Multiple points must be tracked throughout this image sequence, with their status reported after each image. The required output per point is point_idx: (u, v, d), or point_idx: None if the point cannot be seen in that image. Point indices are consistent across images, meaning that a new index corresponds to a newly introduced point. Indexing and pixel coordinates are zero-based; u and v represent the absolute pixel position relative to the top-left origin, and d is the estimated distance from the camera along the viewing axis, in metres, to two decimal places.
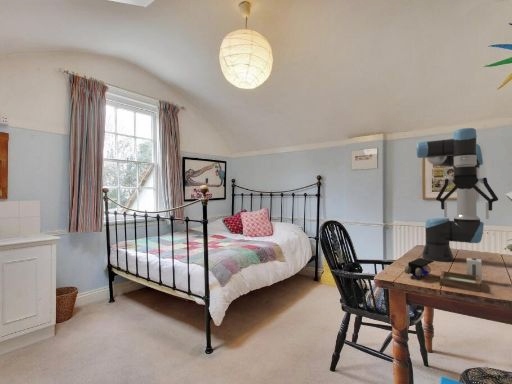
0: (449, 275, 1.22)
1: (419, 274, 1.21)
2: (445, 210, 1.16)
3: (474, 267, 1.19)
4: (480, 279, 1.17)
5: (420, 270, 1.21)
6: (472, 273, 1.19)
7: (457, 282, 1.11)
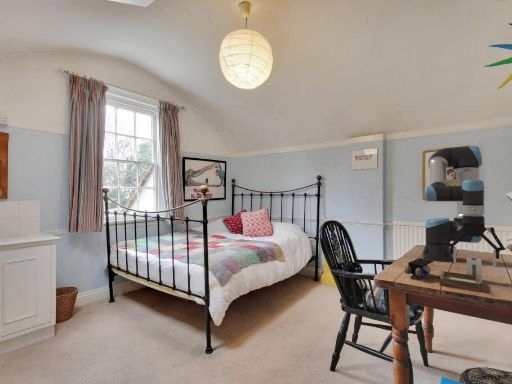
0: (449, 275, 1.22)
1: (419, 274, 1.21)
2: (454, 255, 1.23)
3: (474, 267, 1.19)
4: (480, 279, 1.17)
5: (420, 270, 1.21)
6: (472, 273, 1.19)
7: (457, 282, 1.11)
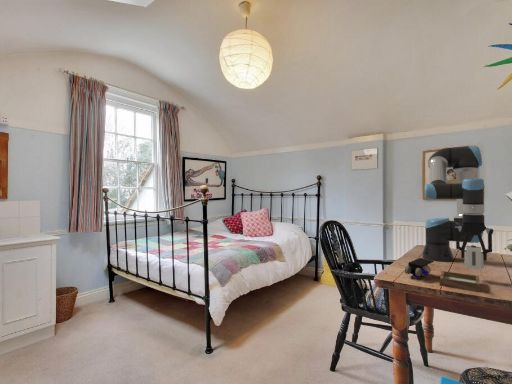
0: (449, 275, 1.22)
1: (419, 274, 1.21)
2: (465, 259, 1.22)
3: (474, 254, 1.19)
4: (480, 266, 1.18)
5: (420, 270, 1.21)
6: (472, 260, 1.19)
7: (457, 282, 1.11)
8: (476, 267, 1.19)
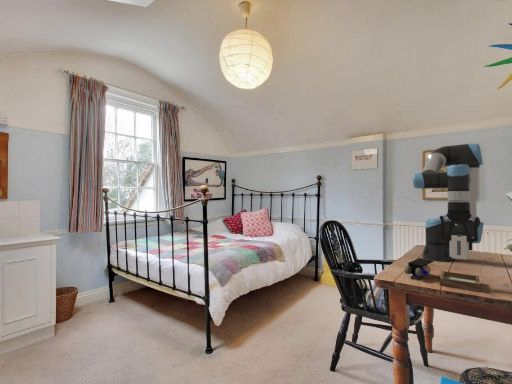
0: (449, 275, 1.22)
1: (419, 274, 1.21)
2: (450, 249, 1.16)
3: (459, 243, 1.13)
4: (465, 256, 1.12)
5: (420, 270, 1.21)
6: (457, 250, 1.14)
7: (457, 282, 1.11)
8: (461, 257, 1.13)
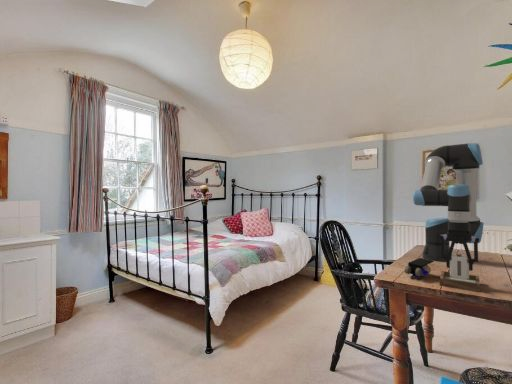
0: (449, 275, 1.22)
1: (419, 274, 1.21)
2: (450, 269, 1.16)
3: (459, 264, 1.14)
4: (465, 276, 1.12)
5: (420, 270, 1.21)
6: (457, 270, 1.14)
7: (457, 282, 1.11)
8: (461, 277, 1.13)
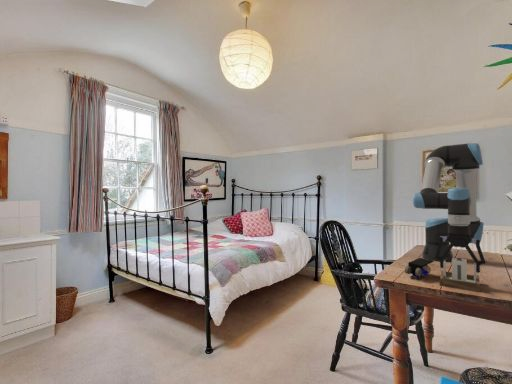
0: (449, 275, 1.22)
1: (419, 274, 1.21)
2: (444, 269, 1.18)
3: (459, 268, 1.14)
4: (465, 280, 1.12)
5: (420, 270, 1.21)
6: (457, 274, 1.14)
7: (457, 282, 1.11)
8: None
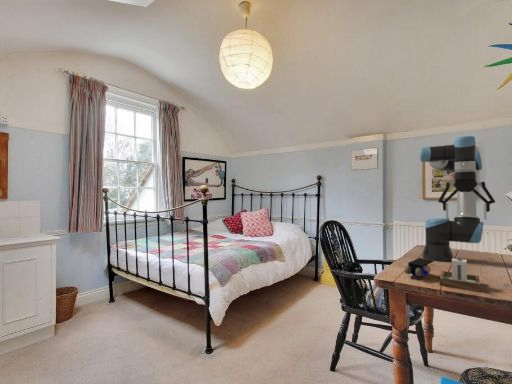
0: (449, 275, 1.22)
1: (419, 274, 1.21)
2: (447, 211, 1.27)
3: (459, 268, 1.14)
4: (465, 280, 1.12)
5: (420, 270, 1.21)
6: (457, 274, 1.14)
7: (457, 282, 1.11)
8: None
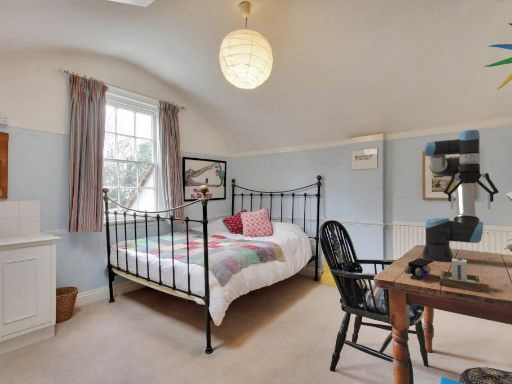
0: (449, 275, 1.22)
1: (419, 274, 1.21)
2: (452, 202, 1.32)
3: (459, 268, 1.14)
4: (465, 280, 1.12)
5: (420, 270, 1.21)
6: (457, 274, 1.14)
7: (457, 282, 1.11)
8: None
